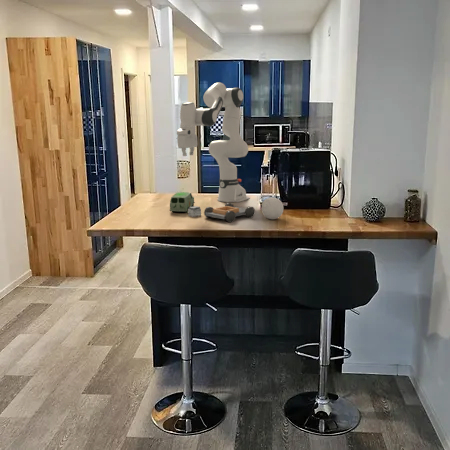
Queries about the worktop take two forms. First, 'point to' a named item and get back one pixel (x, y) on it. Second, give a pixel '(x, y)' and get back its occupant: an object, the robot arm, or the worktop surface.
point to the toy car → (181, 201)
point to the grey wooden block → (194, 211)
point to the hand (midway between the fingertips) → (188, 155)
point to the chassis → (229, 212)
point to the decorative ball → (272, 208)
